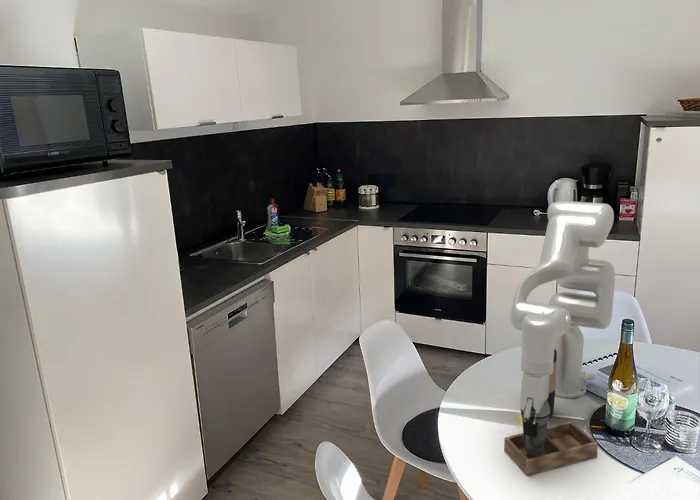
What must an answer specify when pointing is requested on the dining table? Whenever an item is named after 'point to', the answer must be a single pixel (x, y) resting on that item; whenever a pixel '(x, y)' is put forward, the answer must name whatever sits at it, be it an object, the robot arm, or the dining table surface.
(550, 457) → the tray
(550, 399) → the travel mug
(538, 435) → the beverage cup
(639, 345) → the dining table surface
